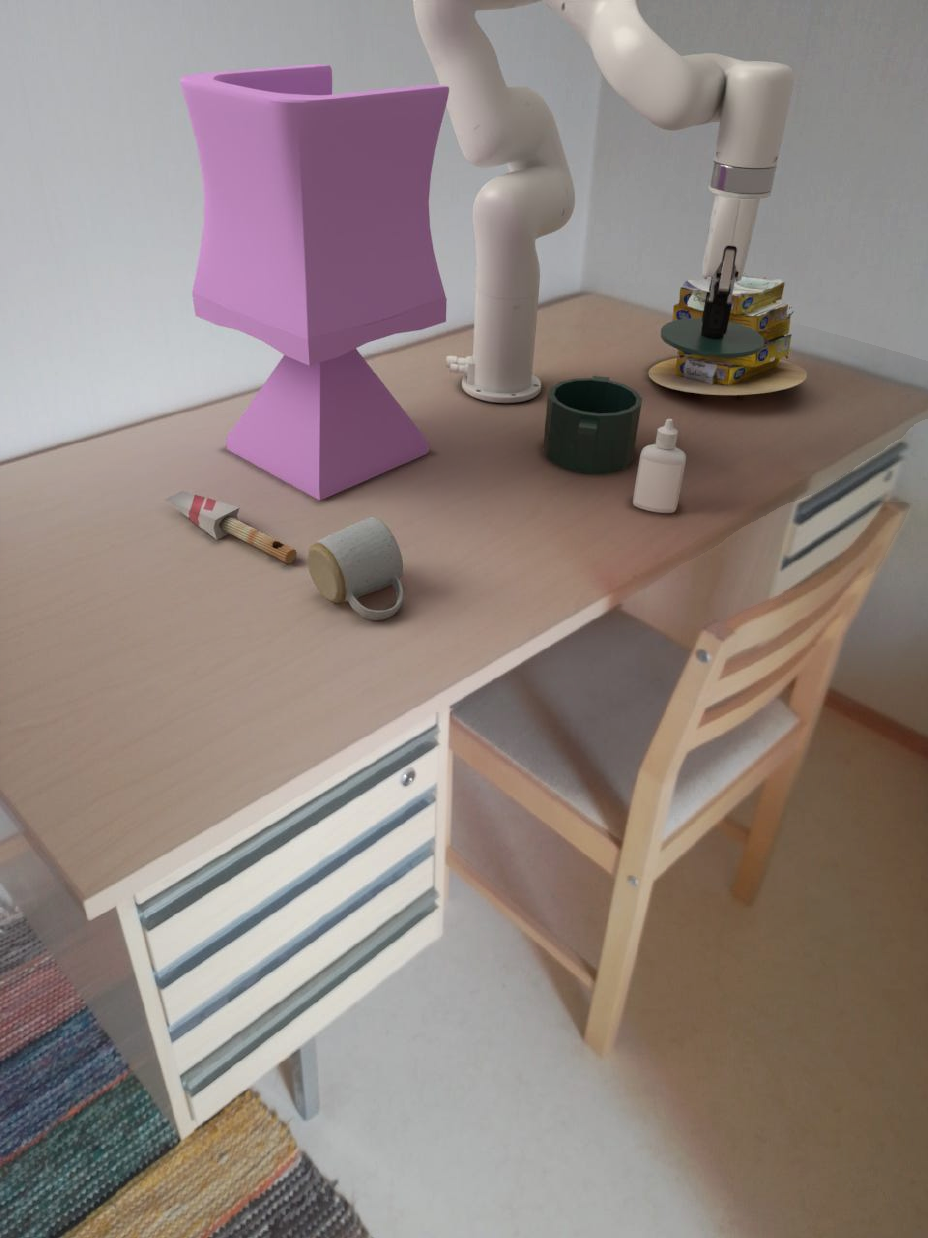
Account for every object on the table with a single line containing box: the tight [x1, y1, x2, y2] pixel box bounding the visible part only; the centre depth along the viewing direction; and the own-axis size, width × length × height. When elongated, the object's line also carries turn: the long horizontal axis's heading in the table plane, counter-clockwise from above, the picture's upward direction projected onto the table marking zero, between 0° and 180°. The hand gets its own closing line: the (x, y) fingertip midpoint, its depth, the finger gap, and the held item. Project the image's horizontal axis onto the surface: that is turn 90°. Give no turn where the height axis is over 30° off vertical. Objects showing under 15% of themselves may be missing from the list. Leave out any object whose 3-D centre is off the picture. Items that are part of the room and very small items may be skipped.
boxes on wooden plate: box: [648, 272, 808, 398], centre depth 152 cm, size 25×25×17 cm
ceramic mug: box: [307, 516, 404, 621], centre depth 102 cm, size 11×8×8 cm
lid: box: [659, 295, 764, 358], centre depth 126 cm, size 14×14×6 cm
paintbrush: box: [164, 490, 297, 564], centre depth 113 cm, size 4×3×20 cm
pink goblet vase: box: [179, 63, 449, 501], centre depth 118 cm, size 22×22×45 cm
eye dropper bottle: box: [632, 418, 687, 514], centre depth 119 cm, size 4×6×12 cm
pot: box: [542, 375, 643, 475], centre depth 132 cm, size 13×18×8 cm
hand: (713, 326), depth 127 cm, fingers closed on lid, 3 cm apart
